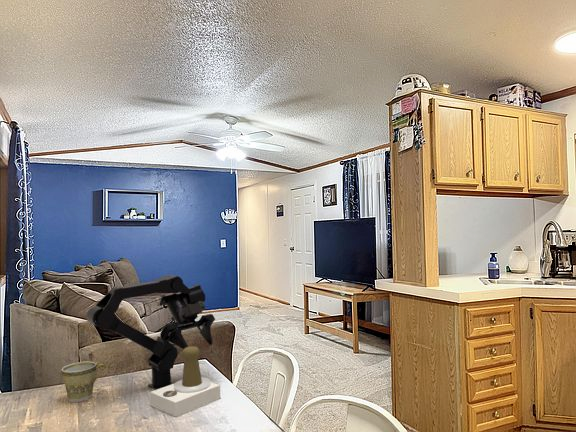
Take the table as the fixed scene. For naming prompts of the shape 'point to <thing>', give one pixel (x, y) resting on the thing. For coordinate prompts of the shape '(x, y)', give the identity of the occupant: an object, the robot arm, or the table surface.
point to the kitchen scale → (184, 397)
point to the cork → (191, 367)
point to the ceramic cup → (80, 380)
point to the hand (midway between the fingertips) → (200, 347)
